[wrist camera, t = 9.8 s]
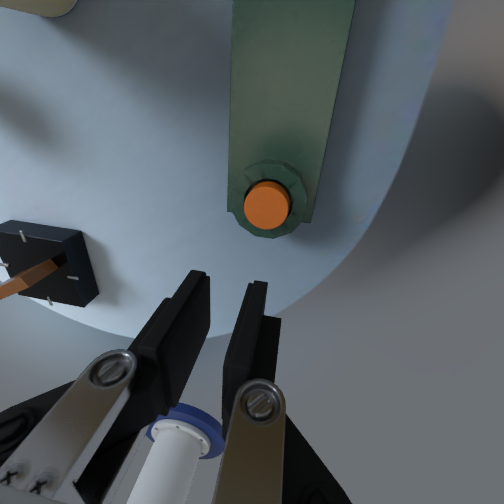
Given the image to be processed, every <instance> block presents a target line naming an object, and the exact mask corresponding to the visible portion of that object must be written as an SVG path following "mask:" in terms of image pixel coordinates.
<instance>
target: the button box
mask: <svg viewBox="0 0 504 504" xmlns="http://www.w3.org/2000/svg"><path fill="white" fill-rule="evenodd" d="M355 2H356V0H233V17H232V54H231V90H230V126H229V163H228V199H227V212H233V214H234V216H235V218H236V220H237V221H238V223H239V225H240V226H242V227H243V228H244V229H246V230H247V231H249V232H250V233H252V234H253V235H255V236H258V237H265V238H272V239H274V238H277V237H280V236H283V235H286V234H288V233H291V232H293V230H294V229H295V228H296V227H297V226H298V225H299V224H300V223H301V222H305V223H311V218H312V213H313V209H314V204H315V199H316V194H317V189H318V184H319V179H320V174H321V169H322V164H323V159H324V154H325V150H326V145H327V140H328V135H329V130H330V125H331V120H332V115H333V110H334V105H335V100H336V95H337V91H338V86H339V81H340V76H341V71H342V66H343V61H344V56H345V51H346V46H347V41H348V36H349V32H350V27H351V22H352V17H353V12H354V7H355ZM265 181H271V182H275V183H277V184H279V185H281V186H282V187H283V188H284V189H285V190H286V192H287V194H288V196H289V209H288V214H287V217H286V219H285V220H284V222H283V223H282V224H281V225H279V226H278V227H276V228H273V229H261V228H258V227H256V226H254V225H253V224H252V223H251V222H250V221H249V220H248V219H247V217H246V215H245V212H244V202H245V199H246V197H247V196H248V194H249V193H250V191H251V190H252V188H253V187H254V186H255V185H257V184H259V183H261V182H265Z"/></svg>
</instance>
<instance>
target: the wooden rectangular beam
mask: <svg viewBox="0 0 504 504" xmlns="http://www.w3.org/2000/svg"><path fill="white" fill-rule="evenodd" d="M58 268H59V267H58V266H57V265H56V264H55V263H54V262H53V261H52V259H49V260H47V261H45V262H43V263H40V264H38V265H36V266H34V267H32V268H30V269H28V270H25V271H23V272H21V273H19V274H17V275H15V276H14V277H12V278H10V279H8V280H7V281H5V282H3V283H2V284H0V300H1V299H3V298H5V297H8V296H10V295H12V294H15V293H17V292H19V291H22V290H24V289H27V288H29V287H31V286H32V285H34V284H35V283H37V282H38V281H40V280H41V279H43V278H44V277H46V276H47V275H49V274H50V273H52V272H53V271H55V270H57V269H58Z"/></svg>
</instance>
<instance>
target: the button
mask: <svg viewBox="0 0 504 504" xmlns="http://www.w3.org/2000/svg"><path fill="white" fill-rule="evenodd" d="M288 209H289V196H288V194H287V192H286V190H285V189H284V188H283V187H282V186H281V185H279V184H277V183H275V182H271V181H265V182H261V183H259V184H257V185H255V186H254V187H253V188H252V190H251V191H250V193H249V194H248V196H247V197H246V199H245V202H244V212H245V215H246V217H247V219H248V220H249V221H250V222H251V223H252V224H253V225H254V226H256V227H258V228H261V229H273V228H276V227H278V226H279V225H281V224H282V223H283V222H284V220H285V219H286V217H287V214H288Z"/></svg>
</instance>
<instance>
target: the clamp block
mask: <svg viewBox="0 0 504 504" xmlns="http://www.w3.org/2000/svg"><path fill="white" fill-rule="evenodd" d="M0 257H1V259H2V261H3V263H0V266H4V267H5V268H6V270H7V272H8V274H9V276H10V278H12V277H14V276H15V275H17V274H19V273H21V272H23V271H25V270H28V269H30V268H32V267H34V266H36V265H38V264H40V263H43V262H45V261H47V260H49V259H52V261H53V262H54V263H55V264H56V265H57V266H58V267H59V268H58V269H57V270H55V271H53V272H52V273H50V274H49V275H47V276H46V277H44V278H43V279H41V280H40V281H38V282H37V283H35V284H34V285H32V286H31V287H29V288H27V289H24V290H22V291H19V292H17V293H18V294H19V295H22V296H27V297H33V298H38V299H43V300H48V302H49V304H50V305H53V303H52V301H53V302H58V303H63V304H69V305H74V306H79V307H85V306H86V305H87V304H88V303H90V302H91V301H92V300H93V299H94V298H95V297H96V296H97V295H98V294H99V291H98V288H97V284H96V281H95V277H94V274H93V270H92V267H91V263H90V260H89V256H88V253H87V249H86V246H85V242H84V238H83V235H82V231H79V230H72V229H66V228H59V227H53V226H47V225H40V224H34V223H28V222H21V221H15V220H10V221H7V222H5V223H2V224H0Z"/></svg>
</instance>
